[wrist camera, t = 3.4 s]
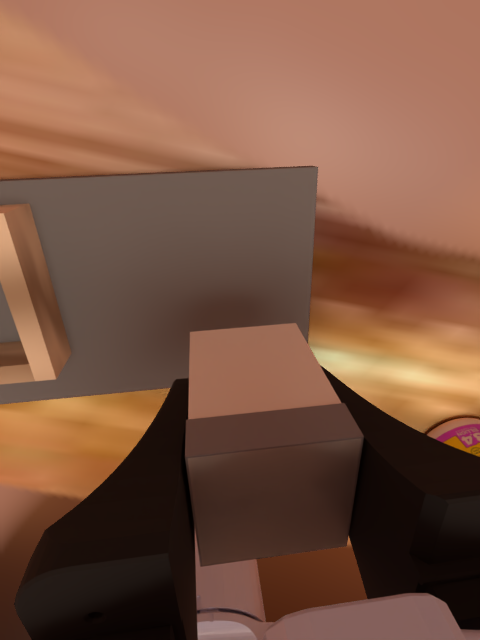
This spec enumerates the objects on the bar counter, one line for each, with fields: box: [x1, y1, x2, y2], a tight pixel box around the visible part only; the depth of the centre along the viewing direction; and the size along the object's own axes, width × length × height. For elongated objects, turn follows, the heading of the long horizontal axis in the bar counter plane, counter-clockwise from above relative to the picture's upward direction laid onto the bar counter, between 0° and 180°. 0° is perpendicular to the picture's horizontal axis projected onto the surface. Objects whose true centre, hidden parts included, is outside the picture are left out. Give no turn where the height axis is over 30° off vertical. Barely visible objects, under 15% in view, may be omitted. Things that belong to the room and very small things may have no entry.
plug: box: [185, 323, 364, 567], centre depth 12 cm, size 4×4×6 cm
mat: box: [0, 166, 318, 404], centre depth 19 cm, size 12×22×1 cm, turn 92°
